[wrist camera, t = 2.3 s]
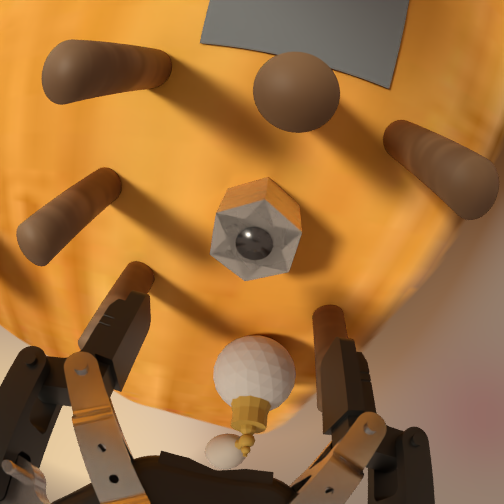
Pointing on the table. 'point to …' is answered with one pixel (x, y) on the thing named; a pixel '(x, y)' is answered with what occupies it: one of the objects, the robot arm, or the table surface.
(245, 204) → the nut
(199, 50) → the table surface
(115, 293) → the post field
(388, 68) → the felt mat
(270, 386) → the perfume bottle
